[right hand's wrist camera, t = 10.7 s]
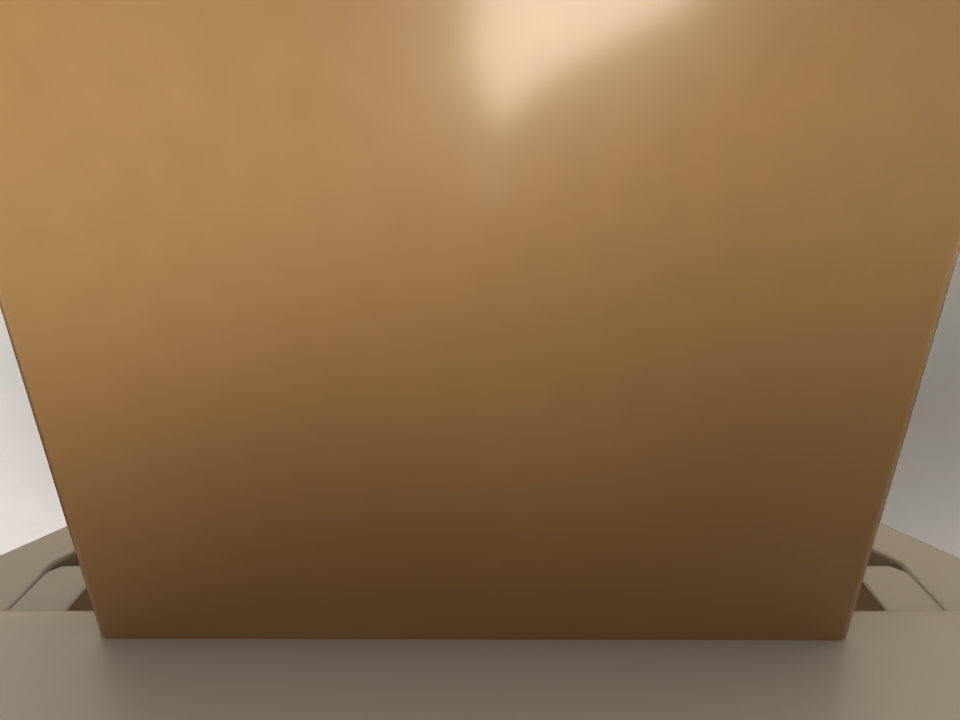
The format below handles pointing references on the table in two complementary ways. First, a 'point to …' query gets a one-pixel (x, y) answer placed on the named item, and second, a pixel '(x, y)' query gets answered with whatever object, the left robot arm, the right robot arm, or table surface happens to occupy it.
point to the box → (476, 306)
